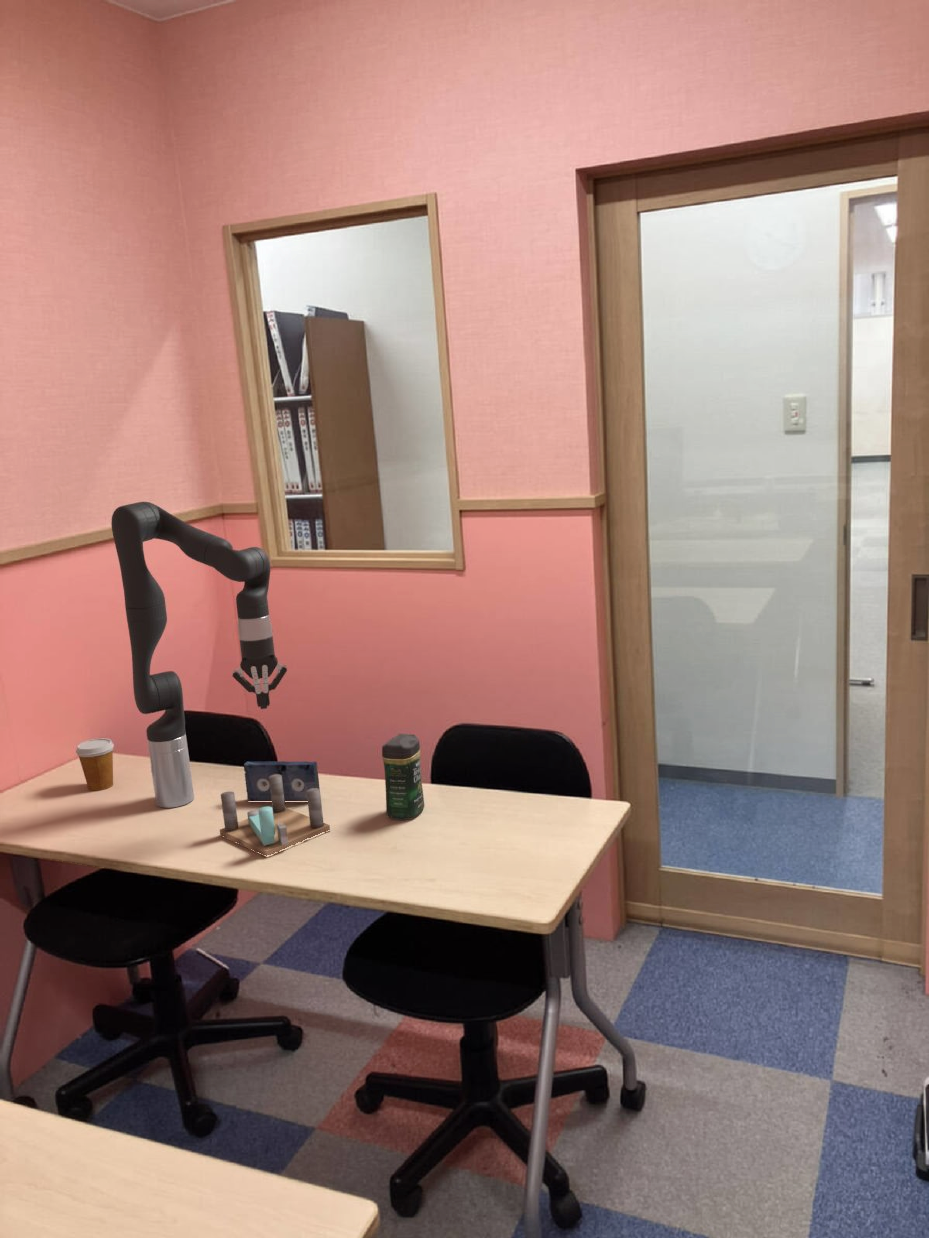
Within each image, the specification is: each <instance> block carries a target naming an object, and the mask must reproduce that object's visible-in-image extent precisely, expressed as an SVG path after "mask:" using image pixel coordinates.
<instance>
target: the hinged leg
mask: <svg viewBox="0 0 929 1238" xmlns="http://www.w3.org/2000/svg"><path fill="white" fill-rule="evenodd" d="M246 813H247V819H248V823H249V826H250V827H251V828H252V829H253V831H254V832H255V834H256V835H257V836H258V838H259V839H260V841H261V842H262V843H263V845H264V846H266V845H270V844H274V843H275V839H274V835H275V826H274V818H273V809H272V806H262V807H260V808H259V809H258V810H257V809H253V810H252V809H251V810H249V811H247V812H246Z"/></svg>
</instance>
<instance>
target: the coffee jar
mask: <svg viewBox="0 0 929 1238" xmlns="http://www.w3.org/2000/svg"><path fill="white" fill-rule="evenodd" d="M381 756H382V757H381V758H382V762H383V768H384V783H385V807H386V815H387V817H389V818H392V819H394V820H399V821H403V820H409V819H414V818H416V817H417V816H418V815H419V814H421V813H422V811H423V810H424V808H425V797H424V789H423V782H422V773H421V772H422V771H421V770H422V769H421V747H420V739H419V738H418V737H417V736H416V735H415V734H410V733H398V734H397V735H396V736H393V737H392V738H390V739H388V740H387V741H386V742H385V743H384V744H383V745H382V747H381Z"/></svg>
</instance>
